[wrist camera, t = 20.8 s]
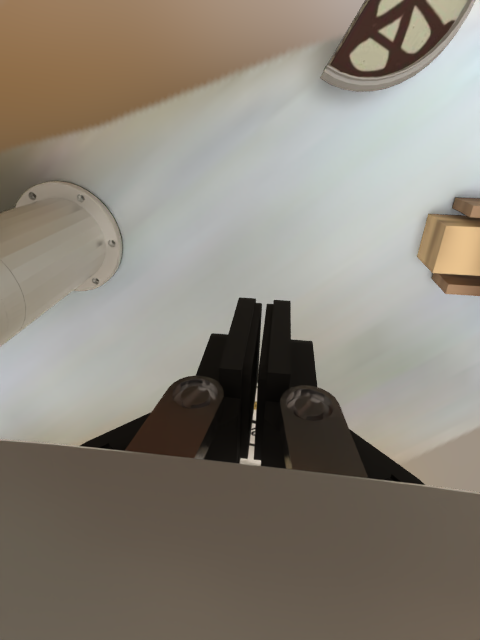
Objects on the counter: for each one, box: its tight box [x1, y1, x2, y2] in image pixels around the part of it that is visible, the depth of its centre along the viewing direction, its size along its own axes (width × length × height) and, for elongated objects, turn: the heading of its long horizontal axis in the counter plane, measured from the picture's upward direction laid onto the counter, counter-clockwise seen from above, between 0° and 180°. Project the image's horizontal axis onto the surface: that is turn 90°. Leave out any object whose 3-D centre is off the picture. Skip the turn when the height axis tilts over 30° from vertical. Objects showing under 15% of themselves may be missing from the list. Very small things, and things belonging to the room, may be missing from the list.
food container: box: [320, 0, 475, 92], centre depth 26 cm, size 12×6×10 cm, turn 149°
